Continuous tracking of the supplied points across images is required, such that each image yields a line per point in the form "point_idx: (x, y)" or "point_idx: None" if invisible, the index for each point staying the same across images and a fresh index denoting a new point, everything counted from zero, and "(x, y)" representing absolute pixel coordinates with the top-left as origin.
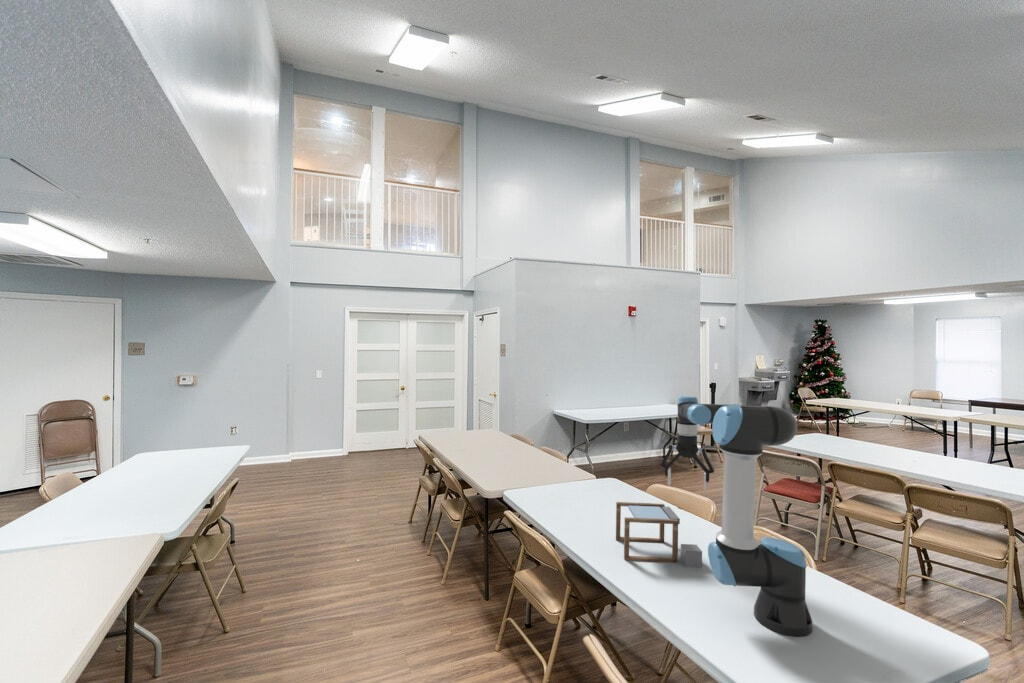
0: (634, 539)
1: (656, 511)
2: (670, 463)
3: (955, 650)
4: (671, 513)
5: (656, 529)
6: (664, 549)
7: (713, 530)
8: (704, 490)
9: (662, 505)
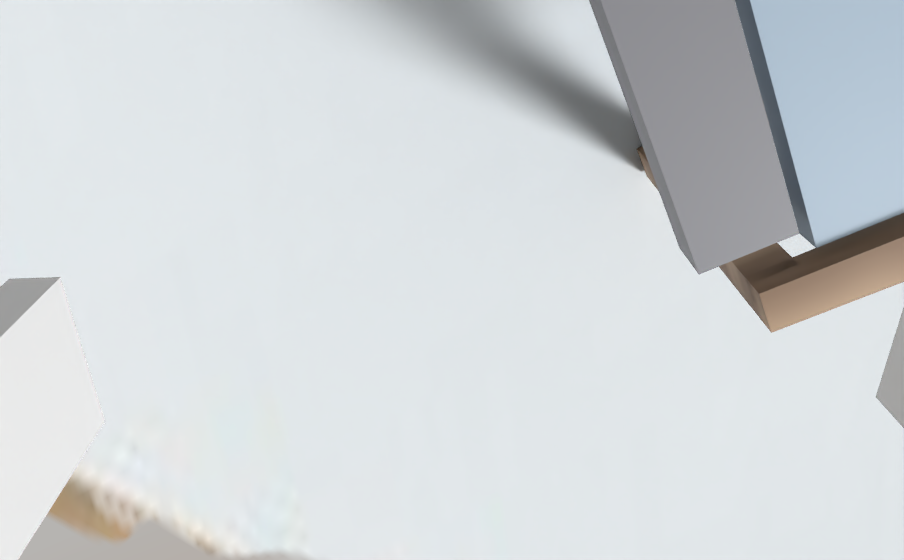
0: None
1: (874, 15)
2: None
3: None
4: (663, 6)
5: (705, 367)
6: None
7: (343, 528)
8: (38, 278)
9: (785, 280)
